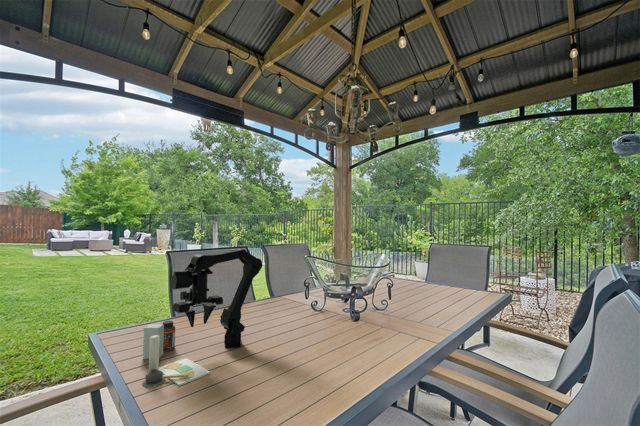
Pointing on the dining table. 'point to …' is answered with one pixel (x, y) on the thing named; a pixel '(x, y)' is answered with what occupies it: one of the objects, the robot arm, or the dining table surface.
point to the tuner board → (180, 372)
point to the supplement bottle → (169, 336)
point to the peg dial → (153, 371)
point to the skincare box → (152, 331)
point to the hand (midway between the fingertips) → (198, 325)
